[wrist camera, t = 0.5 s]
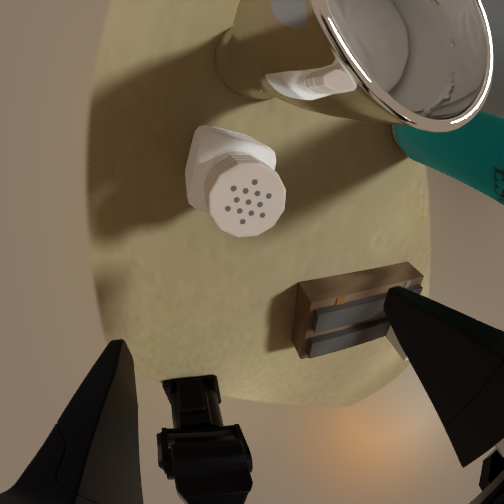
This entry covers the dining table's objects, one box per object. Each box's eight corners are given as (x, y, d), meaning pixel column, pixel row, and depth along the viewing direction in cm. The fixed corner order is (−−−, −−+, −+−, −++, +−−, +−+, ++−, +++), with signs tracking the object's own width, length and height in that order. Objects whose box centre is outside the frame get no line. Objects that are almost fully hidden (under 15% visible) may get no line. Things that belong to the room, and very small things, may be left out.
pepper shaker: (196, 122, 17) (211, 140, 10) (252, 135, 19) (309, 166, 11) (182, 177, 19) (187, 239, 11) (236, 187, 21) (278, 253, 13)
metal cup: (189, 40, 14) (224, -95, 2) (279, 4, 14) (439, -81, 1) (238, 122, 18) (376, 188, 6) (321, 82, 18) (511, 105, 5)
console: (408, 261, 29) (428, 280, 26) (390, 313, 34) (405, 332, 30) (298, 282, 27) (314, 308, 23) (291, 339, 31) (303, 364, 27)
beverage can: (403, 168, 23) (537, 246, 10) (375, 121, 20) (539, 182, 8) (435, 132, 22) (564, 189, 9) (411, 84, 19) (563, 122, 6)
